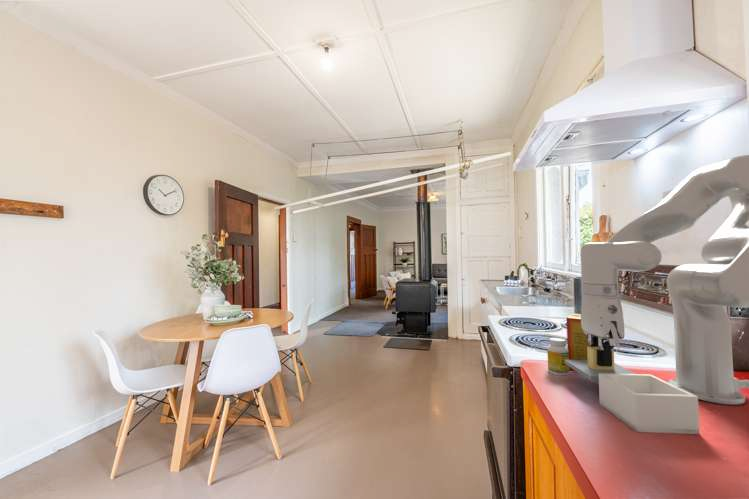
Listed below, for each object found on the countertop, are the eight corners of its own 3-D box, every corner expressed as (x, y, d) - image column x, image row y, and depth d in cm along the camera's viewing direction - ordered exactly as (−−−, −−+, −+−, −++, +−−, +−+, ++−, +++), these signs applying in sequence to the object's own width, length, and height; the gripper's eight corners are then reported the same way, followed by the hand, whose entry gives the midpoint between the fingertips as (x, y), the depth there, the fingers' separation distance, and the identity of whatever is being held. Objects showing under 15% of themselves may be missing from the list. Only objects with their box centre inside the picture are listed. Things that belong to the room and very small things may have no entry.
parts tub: (651, 405, 68) (650, 374, 68) (699, 434, 57) (697, 396, 57) (599, 404, 69) (598, 373, 69) (636, 431, 58) (635, 394, 58)
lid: (610, 368, 81) (609, 342, 81) (644, 386, 69) (643, 356, 70) (564, 367, 82) (563, 341, 82) (590, 384, 71) (590, 354, 71)
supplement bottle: (553, 367, 92) (552, 335, 92) (572, 373, 87) (571, 339, 88) (544, 371, 89) (543, 338, 89) (563, 377, 84) (562, 342, 85)
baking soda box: (595, 376, 84) (593, 319, 85) (568, 370, 89) (566, 316, 90) (601, 367, 91) (599, 314, 92) (576, 362, 96) (574, 312, 96)
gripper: (639, 294, 68) (641, 377, 68) (595, 288, 84) (596, 354, 83) (604, 294, 69) (605, 375, 68) (566, 287, 85) (567, 353, 84)
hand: (600, 363), depth 76 cm, fingers closed on lid
